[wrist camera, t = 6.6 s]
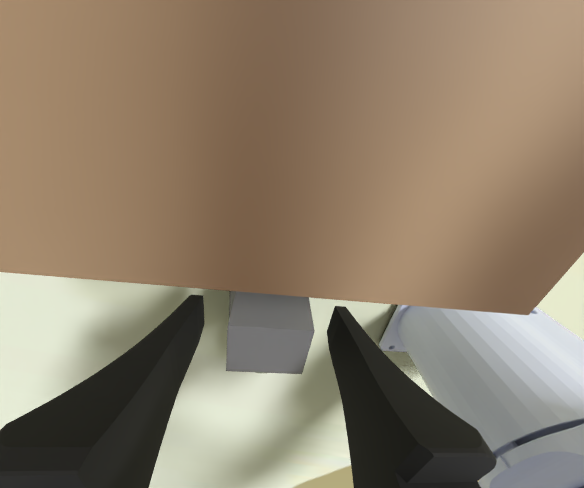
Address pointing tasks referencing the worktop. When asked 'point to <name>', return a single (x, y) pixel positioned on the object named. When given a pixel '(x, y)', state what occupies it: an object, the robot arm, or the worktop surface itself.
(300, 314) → the grey plastic caddy
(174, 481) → the worktop surface
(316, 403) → the worktop surface
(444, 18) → the walnut shelf
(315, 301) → the worktop surface
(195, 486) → the worktop surface
